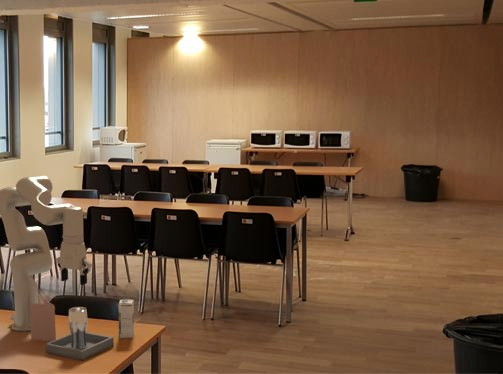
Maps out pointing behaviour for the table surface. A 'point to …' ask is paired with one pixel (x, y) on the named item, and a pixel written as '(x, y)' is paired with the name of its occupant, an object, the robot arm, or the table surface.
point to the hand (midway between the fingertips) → (74, 282)
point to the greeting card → (42, 321)
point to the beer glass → (78, 327)
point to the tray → (94, 347)
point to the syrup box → (126, 318)
